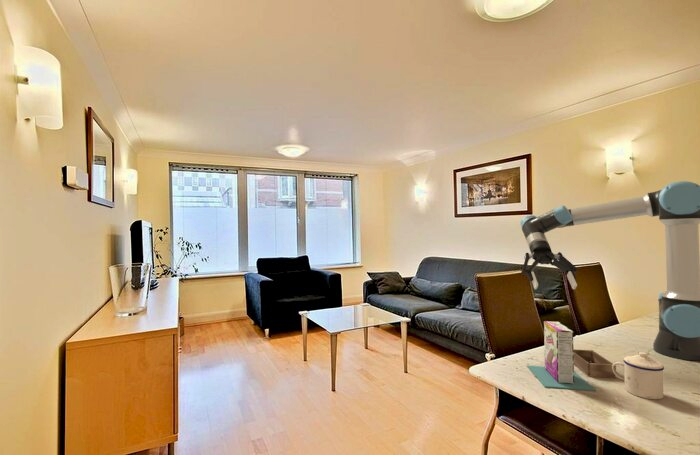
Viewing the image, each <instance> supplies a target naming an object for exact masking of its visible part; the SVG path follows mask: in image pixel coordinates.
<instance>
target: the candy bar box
mask: <svg viewBox="0 0 700 455" xmlns="http://www.w3.org/2000/svg"><path fill="white" fill-rule="evenodd" d="M543 332H544V333H543V336H544V338H543V339H544V342H543V343H544V367H545V369H546V370H547V371H548V372H549V374H550V375H551V376H552V377H553V378H554V379H555V380H556V381H557V382H558V383H567V384H574V371H575V370H574V369H575V368H574V367H575V365H574V354H573V349H574V331H573V330H571V329H570V328H569V327H568V326H566V325H564V324H562V323H561V322H560V321H548V320H545V321H543Z"/></svg>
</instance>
